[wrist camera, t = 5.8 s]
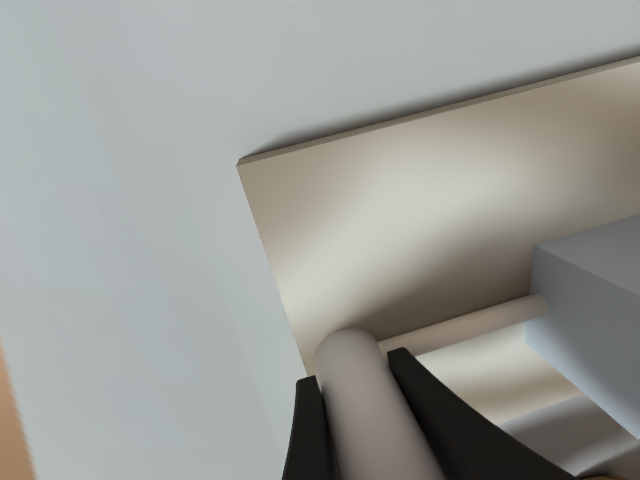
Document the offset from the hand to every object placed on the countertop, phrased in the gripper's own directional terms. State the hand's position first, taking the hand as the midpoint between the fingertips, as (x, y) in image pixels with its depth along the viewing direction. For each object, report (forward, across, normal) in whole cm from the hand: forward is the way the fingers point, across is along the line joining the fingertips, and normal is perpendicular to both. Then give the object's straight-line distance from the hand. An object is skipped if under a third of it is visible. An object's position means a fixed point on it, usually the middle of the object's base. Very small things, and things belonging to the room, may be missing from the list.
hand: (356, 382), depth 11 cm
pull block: (+1, -6, 0) cm, 6 cm away
